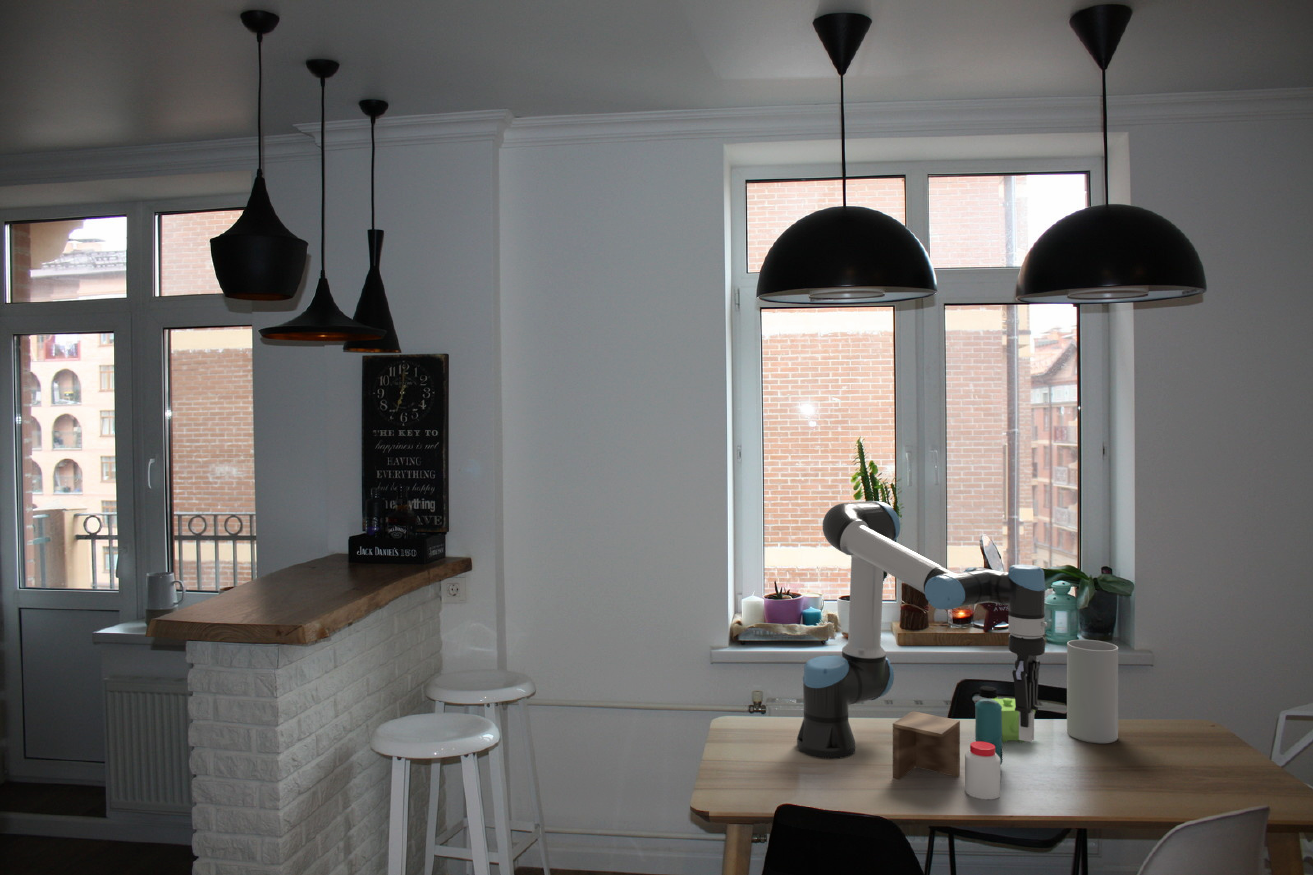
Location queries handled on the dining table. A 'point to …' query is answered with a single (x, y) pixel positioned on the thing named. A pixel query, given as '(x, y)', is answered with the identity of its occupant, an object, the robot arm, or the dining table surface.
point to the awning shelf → (926, 744)
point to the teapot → (1009, 719)
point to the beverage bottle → (989, 719)
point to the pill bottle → (982, 771)
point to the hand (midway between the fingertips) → (1026, 739)
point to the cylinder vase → (1092, 691)
